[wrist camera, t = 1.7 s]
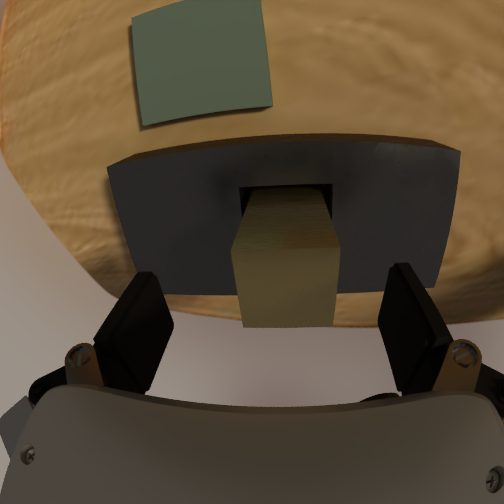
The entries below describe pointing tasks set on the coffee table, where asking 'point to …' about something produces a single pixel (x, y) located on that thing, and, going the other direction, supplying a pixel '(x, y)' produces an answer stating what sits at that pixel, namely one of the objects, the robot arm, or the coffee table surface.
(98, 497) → the robot arm
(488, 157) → the coffee table surface
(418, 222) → the dark square-hole plate
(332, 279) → the brass plug
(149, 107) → the green mat
